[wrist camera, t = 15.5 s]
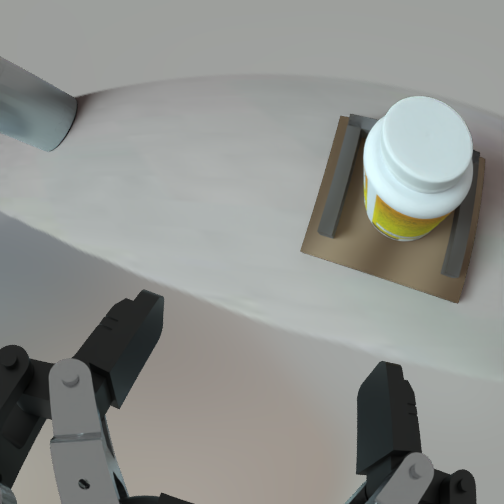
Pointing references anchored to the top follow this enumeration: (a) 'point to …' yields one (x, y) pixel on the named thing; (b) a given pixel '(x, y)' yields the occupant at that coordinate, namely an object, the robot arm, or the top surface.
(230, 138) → the top surface
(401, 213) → the supplement bottle
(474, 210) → the notched cradle board
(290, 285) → the top surface
